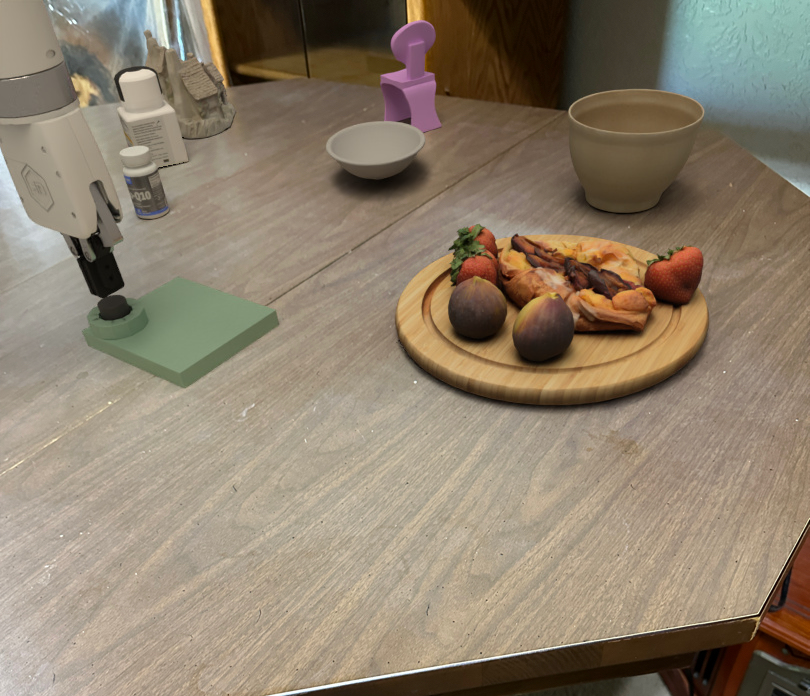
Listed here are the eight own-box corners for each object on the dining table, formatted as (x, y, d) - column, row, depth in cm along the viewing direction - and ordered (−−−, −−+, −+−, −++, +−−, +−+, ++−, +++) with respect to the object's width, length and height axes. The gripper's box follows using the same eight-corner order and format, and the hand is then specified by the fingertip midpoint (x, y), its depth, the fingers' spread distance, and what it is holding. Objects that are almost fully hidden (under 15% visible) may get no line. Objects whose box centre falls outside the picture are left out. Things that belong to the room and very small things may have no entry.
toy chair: (416, 113, 126) (411, 9, 115) (446, 125, 121) (444, 17, 110) (377, 125, 123) (368, 19, 112) (406, 137, 118) (399, 28, 107)
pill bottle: (130, 218, 103) (109, 155, 97) (148, 205, 106) (128, 143, 100) (158, 221, 102) (138, 157, 96) (176, 207, 105) (157, 145, 99)
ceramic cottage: (188, 142, 123) (164, 36, 113) (144, 127, 133) (118, 29, 123) (264, 123, 131) (247, 22, 121) (217, 111, 140) (198, 16, 130)
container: (132, 159, 120) (103, 69, 111) (177, 148, 122) (152, 59, 113) (142, 173, 115) (113, 80, 106) (189, 162, 117) (164, 69, 108)
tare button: (96, 317, 77) (91, 304, 76) (118, 305, 79) (113, 292, 78) (114, 324, 76) (108, 311, 75) (136, 312, 77) (131, 298, 76)
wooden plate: (707, 262, 83) (726, 187, 77) (702, 431, 62) (727, 348, 56) (439, 244, 91) (436, 175, 85) (355, 390, 70) (345, 312, 64)
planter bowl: (551, 222, 93) (559, 129, 85) (570, 174, 103) (578, 87, 95) (682, 230, 89) (703, 133, 81) (688, 179, 99) (706, 89, 91)
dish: (330, 160, 113) (325, 125, 110) (421, 152, 113) (419, 116, 110) (330, 206, 101) (325, 168, 98) (432, 196, 101) (430, 158, 98)
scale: (88, 346, 79) (75, 317, 77) (182, 291, 87) (174, 263, 84) (185, 389, 72) (174, 359, 70) (279, 325, 80) (273, 295, 77)
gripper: (-56, 95, 63) (37, 290, 77) (42, 116, 57) (125, 325, 70) (18, 72, 67) (94, 261, 81) (117, 88, 61) (183, 291, 74)
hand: (108, 290), depth 75 cm, fingers closed
